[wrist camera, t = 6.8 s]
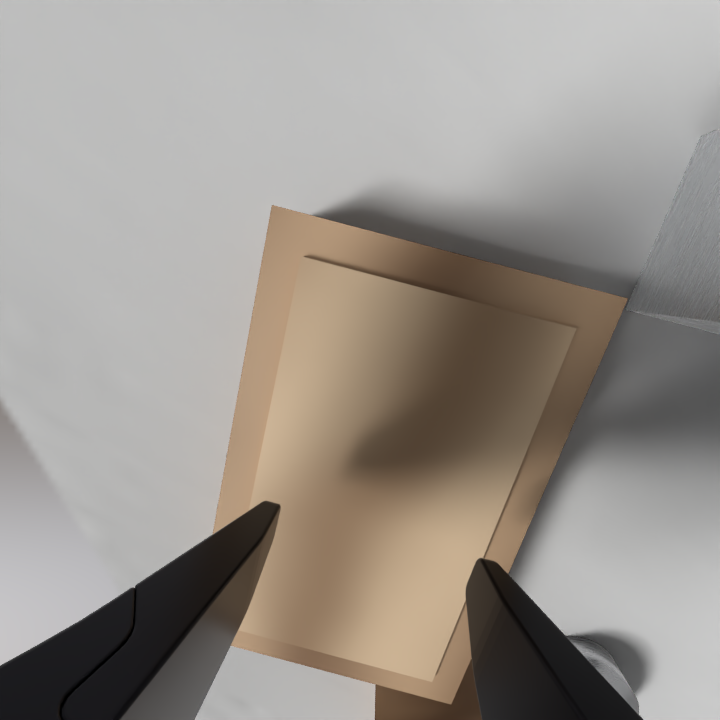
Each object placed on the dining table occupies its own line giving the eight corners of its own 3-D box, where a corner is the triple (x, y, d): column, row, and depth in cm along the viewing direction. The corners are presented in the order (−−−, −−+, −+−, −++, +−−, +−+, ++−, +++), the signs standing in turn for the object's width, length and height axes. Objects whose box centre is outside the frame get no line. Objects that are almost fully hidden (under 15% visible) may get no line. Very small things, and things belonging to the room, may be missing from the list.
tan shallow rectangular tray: (574, 293, 11) (633, 298, 8) (439, 632, 14) (452, 711, 12) (296, 220, 11) (269, 203, 8) (226, 575, 14) (191, 641, 12)
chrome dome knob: (629, 645, 14) (657, 687, 13) (590, 714, 15) (612, 761, 14) (533, 620, 14) (550, 658, 13) (500, 691, 15) (512, 735, 14)
